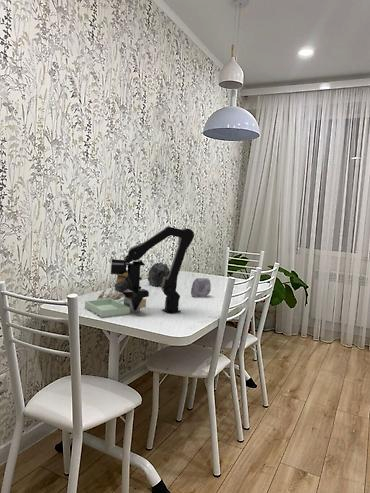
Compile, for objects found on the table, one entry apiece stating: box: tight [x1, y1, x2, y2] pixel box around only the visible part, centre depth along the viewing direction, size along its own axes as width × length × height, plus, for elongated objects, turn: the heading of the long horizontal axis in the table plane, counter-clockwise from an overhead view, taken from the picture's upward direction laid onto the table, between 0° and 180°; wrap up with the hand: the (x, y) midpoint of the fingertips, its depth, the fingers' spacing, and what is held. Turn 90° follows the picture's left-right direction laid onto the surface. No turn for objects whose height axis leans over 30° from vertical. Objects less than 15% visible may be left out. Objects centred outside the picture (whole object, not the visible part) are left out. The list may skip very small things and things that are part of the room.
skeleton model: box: [96, 287, 125, 301], centre depth 196 cm, size 24×13×5 cm, turn 7°
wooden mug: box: [114, 259, 141, 291], centre depth 218 cm, size 9×14×18 cm, turn 84°
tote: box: [84, 299, 131, 319], centre depth 171 cm, size 18×13×3 cm
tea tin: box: [123, 296, 141, 314], centre depth 174 cm, size 6×6×6 cm
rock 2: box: [190, 277, 212, 298], centre depth 213 cm, size 10×6×10 cm, turn 118°
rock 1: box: [147, 262, 171, 287], centre depth 237 cm, size 16×14×15 cm
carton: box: [140, 297, 147, 309], centre depth 184 cm, size 4×4×4 cm
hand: (131, 308), depth 174 cm, fingers closed on tea tin, 5 cm apart
